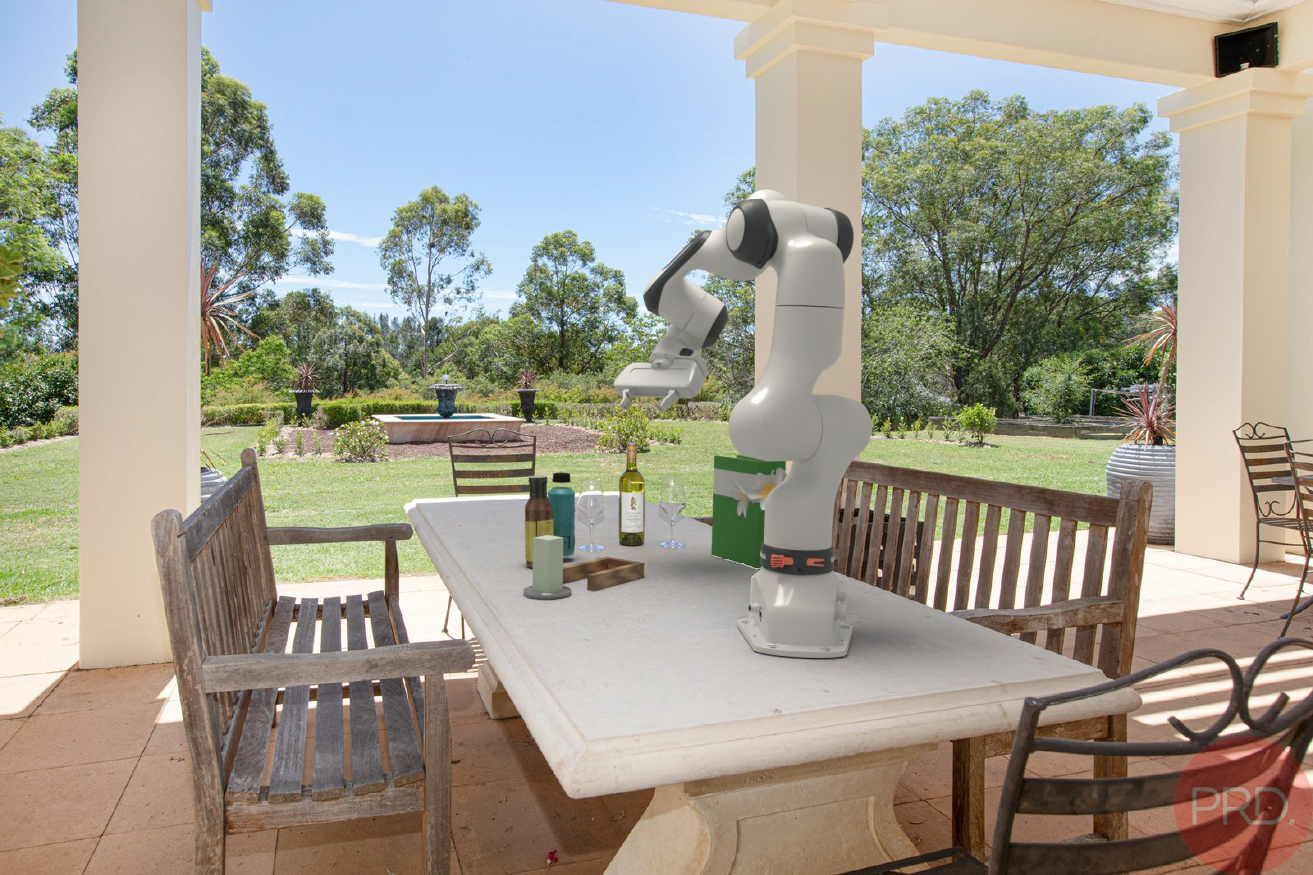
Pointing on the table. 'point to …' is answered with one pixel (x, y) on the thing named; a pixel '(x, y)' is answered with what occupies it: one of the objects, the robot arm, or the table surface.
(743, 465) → the green gift bag
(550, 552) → the block
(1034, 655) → the table surface
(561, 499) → the beverage bottle
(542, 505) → the sauce bottle
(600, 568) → the channel
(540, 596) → the coaster
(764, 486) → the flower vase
